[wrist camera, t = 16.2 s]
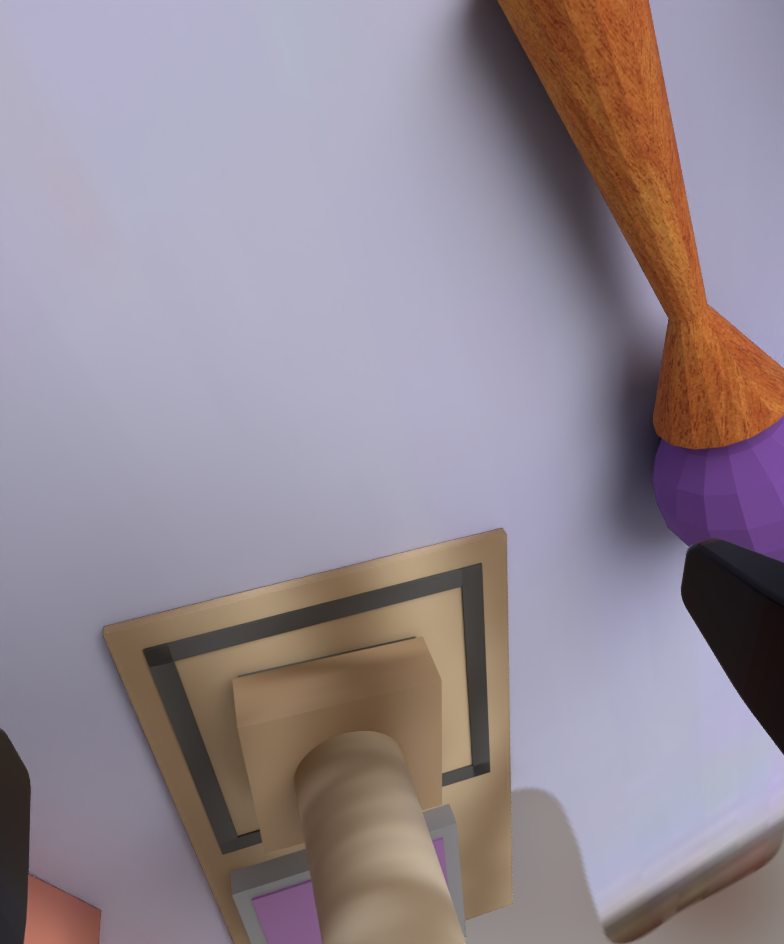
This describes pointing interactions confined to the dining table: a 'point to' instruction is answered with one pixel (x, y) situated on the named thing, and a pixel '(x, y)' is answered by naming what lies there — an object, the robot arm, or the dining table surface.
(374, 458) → the dining table surface
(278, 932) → the ink pad
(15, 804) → the robot arm
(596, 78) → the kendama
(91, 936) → the pottery
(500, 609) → the stamp board
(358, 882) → the stamp
